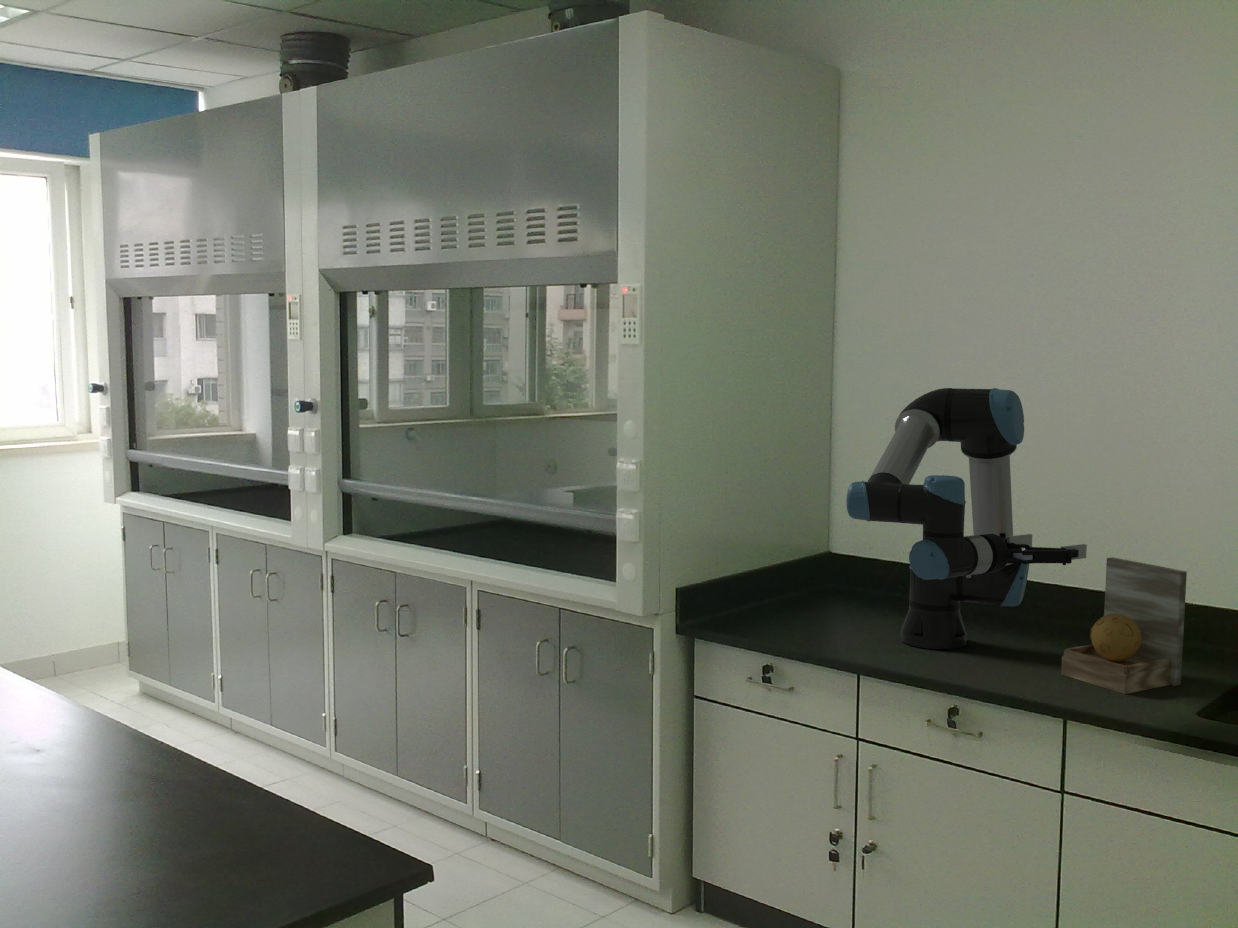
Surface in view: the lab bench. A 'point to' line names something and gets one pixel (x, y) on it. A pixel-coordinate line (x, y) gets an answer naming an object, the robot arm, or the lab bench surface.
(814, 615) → the lab bench surface
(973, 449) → the robot arm
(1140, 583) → the ledge stand
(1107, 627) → the stress ball
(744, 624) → the lab bench surface
